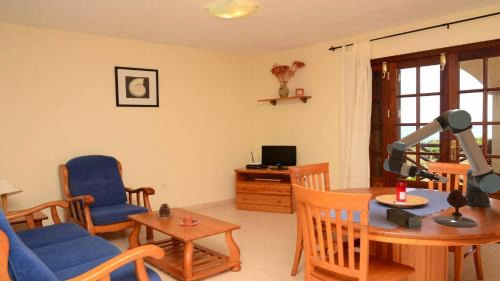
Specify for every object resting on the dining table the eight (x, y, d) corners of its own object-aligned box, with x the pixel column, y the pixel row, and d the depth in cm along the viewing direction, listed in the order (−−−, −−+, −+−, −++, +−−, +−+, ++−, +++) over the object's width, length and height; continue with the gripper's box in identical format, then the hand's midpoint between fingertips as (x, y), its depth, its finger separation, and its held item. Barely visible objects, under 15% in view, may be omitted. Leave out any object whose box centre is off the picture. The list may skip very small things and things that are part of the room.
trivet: (470, 218, 202) (470, 217, 202) (482, 228, 183) (482, 227, 183) (430, 216, 207) (430, 214, 207) (437, 225, 188) (438, 224, 188)
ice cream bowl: (471, 217, 204) (471, 191, 203) (449, 216, 206) (450, 190, 205) (464, 213, 214) (464, 187, 213) (443, 212, 216) (443, 187, 215)
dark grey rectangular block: (408, 229, 183) (408, 216, 183) (385, 219, 202) (385, 207, 201) (422, 228, 185) (422, 215, 185) (398, 218, 204) (398, 207, 203)
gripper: (412, 176, 236) (448, 186, 224) (403, 176, 216) (442, 188, 203) (415, 164, 235) (451, 174, 223) (406, 164, 215) (446, 175, 203)
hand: (447, 180), depth 213 cm, fingers open, 13 cm apart
